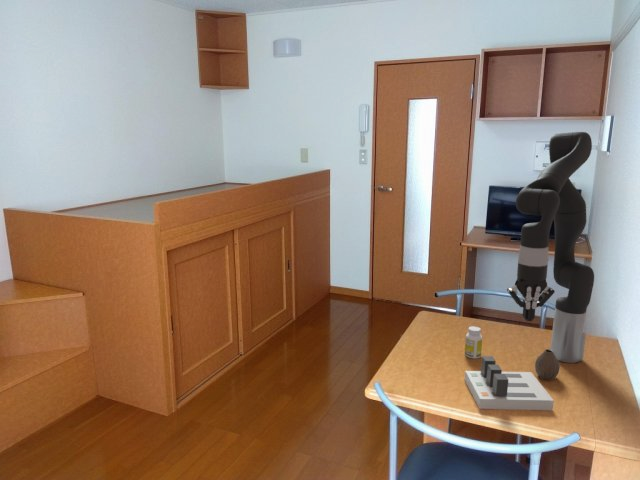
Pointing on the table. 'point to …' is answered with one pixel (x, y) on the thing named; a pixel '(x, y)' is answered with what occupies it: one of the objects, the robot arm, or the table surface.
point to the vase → (547, 365)
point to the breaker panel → (520, 390)
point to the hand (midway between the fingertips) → (528, 320)
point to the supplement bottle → (473, 342)
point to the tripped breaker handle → (500, 384)
